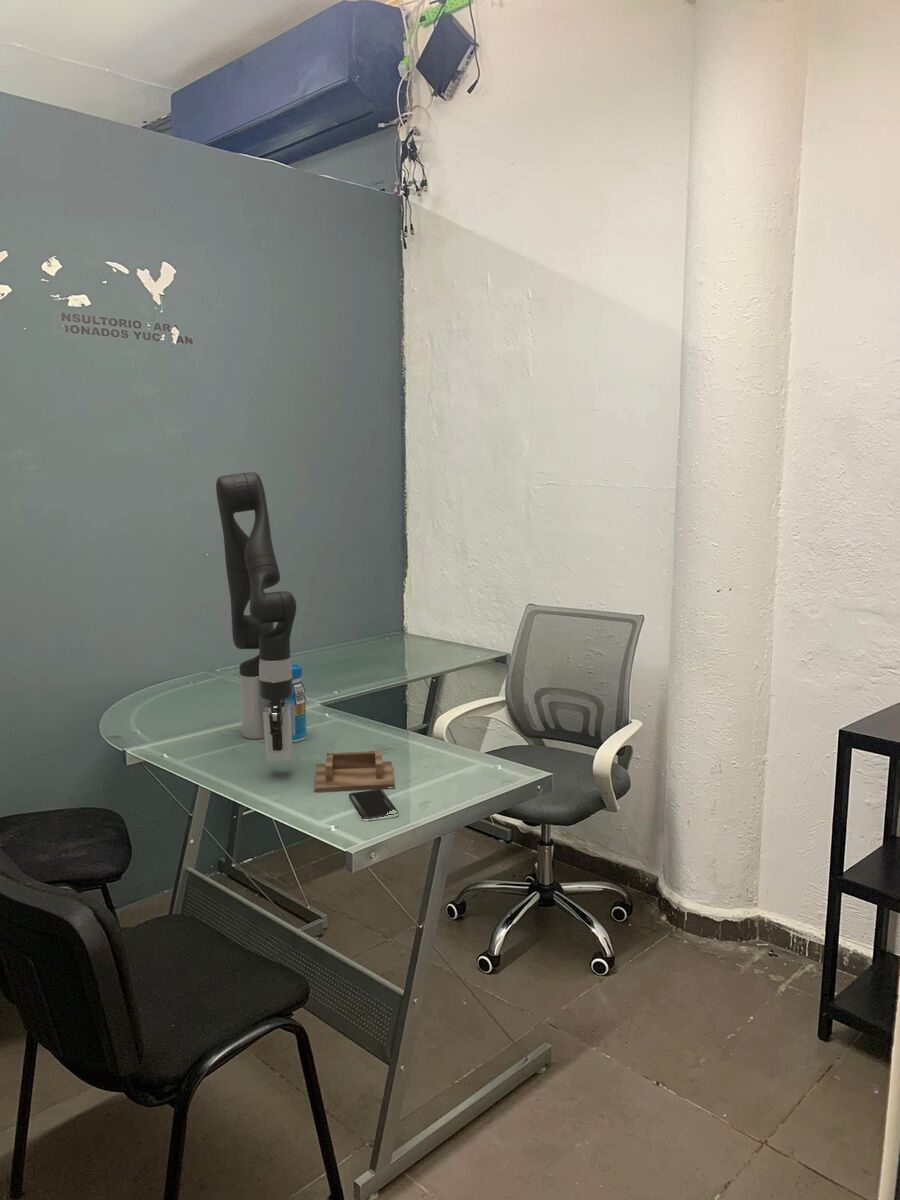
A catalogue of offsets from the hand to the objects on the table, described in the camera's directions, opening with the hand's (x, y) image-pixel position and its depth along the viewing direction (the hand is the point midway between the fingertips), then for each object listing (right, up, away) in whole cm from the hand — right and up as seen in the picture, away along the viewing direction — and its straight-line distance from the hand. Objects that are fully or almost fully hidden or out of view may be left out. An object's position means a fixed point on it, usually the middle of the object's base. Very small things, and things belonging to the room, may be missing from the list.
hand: (278, 746), depth 205 cm
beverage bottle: (-2, -3, +29) cm, 30 cm away
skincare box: (0, -3, 0) cm, 3 cm away
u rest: (+18, -7, -1) cm, 20 cm away
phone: (+24, -10, -19) cm, 32 cm away
